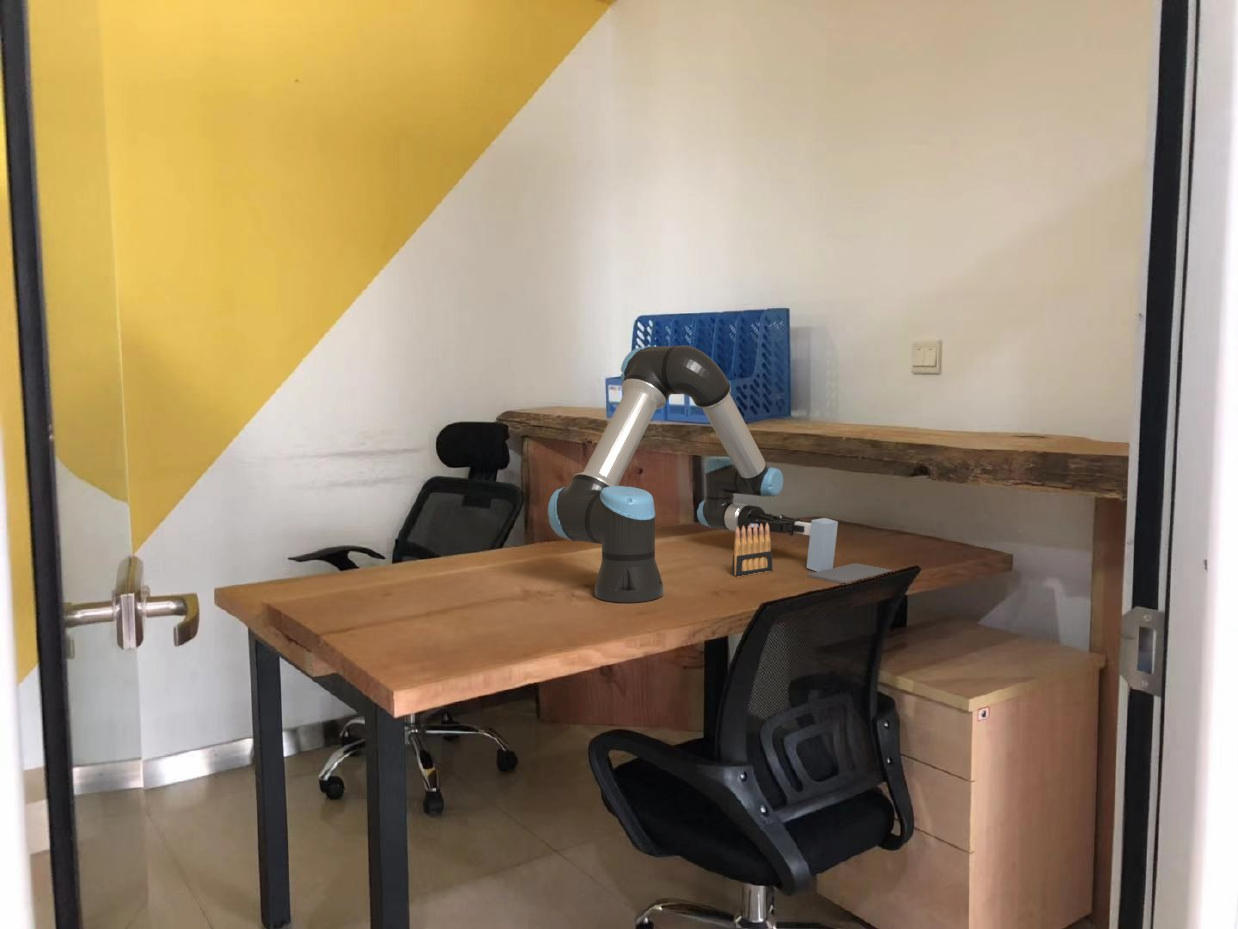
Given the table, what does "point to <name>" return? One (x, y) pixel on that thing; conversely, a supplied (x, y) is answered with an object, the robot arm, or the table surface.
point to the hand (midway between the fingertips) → (817, 530)
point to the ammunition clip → (752, 551)
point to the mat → (848, 573)
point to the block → (822, 544)
